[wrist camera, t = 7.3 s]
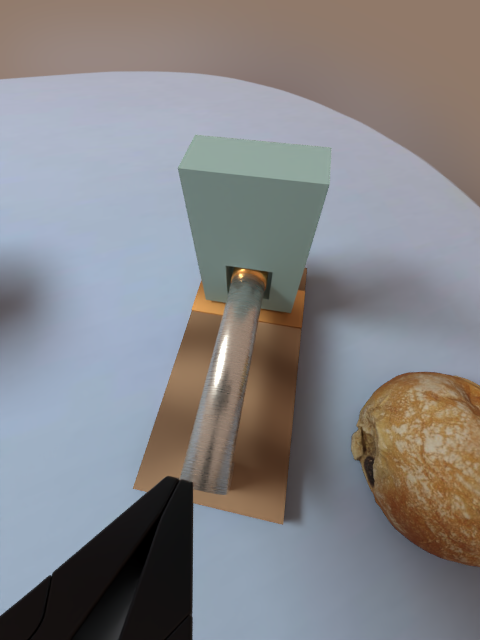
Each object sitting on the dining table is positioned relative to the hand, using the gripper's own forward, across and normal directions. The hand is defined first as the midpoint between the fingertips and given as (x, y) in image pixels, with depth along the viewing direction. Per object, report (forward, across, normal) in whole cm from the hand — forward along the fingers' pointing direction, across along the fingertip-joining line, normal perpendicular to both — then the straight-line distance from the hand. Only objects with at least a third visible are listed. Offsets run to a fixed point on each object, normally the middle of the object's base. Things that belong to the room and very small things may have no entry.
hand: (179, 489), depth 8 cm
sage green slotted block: (+16, 0, -4) cm, 17 cm away
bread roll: (+11, -14, +4) cm, 18 cm away
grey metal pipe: (+13, 0, 0) cm, 13 cm away
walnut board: (+13, 0, +1) cm, 13 cm away
